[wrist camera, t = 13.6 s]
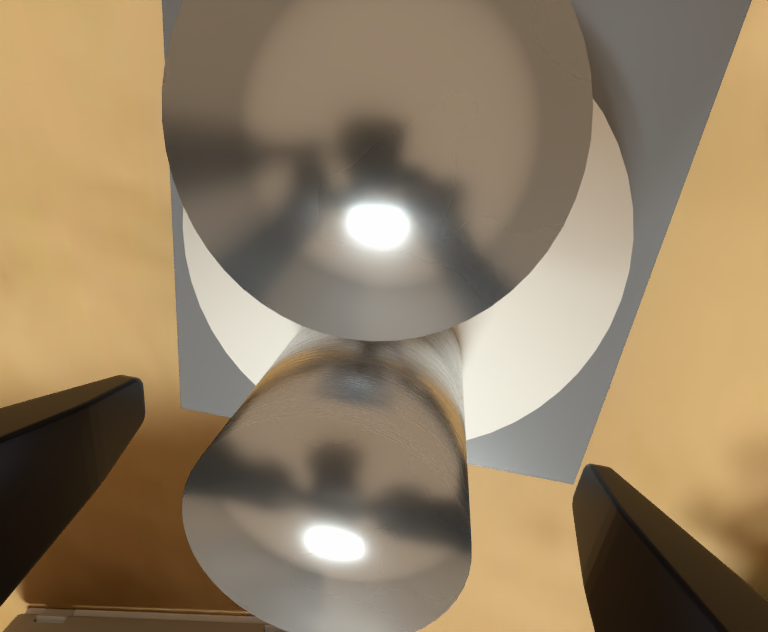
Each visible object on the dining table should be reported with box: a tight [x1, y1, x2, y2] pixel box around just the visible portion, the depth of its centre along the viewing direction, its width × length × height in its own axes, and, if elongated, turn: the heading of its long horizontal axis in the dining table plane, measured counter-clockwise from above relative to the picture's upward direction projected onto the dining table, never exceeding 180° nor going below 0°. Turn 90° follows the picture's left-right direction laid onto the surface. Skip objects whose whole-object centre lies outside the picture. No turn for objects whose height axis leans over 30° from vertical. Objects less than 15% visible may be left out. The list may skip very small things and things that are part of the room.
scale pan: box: [183, 99, 633, 440], centre depth 12 cm, size 11×11×1 cm
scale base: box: [162, 0, 752, 484], centre depth 14 cm, size 13×14×3 cm
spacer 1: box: [162, 0, 593, 341], centre depth 7 cm, size 4×4×6 cm
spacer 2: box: [182, 326, 471, 632], centre depth 10 cm, size 4×4×6 cm
